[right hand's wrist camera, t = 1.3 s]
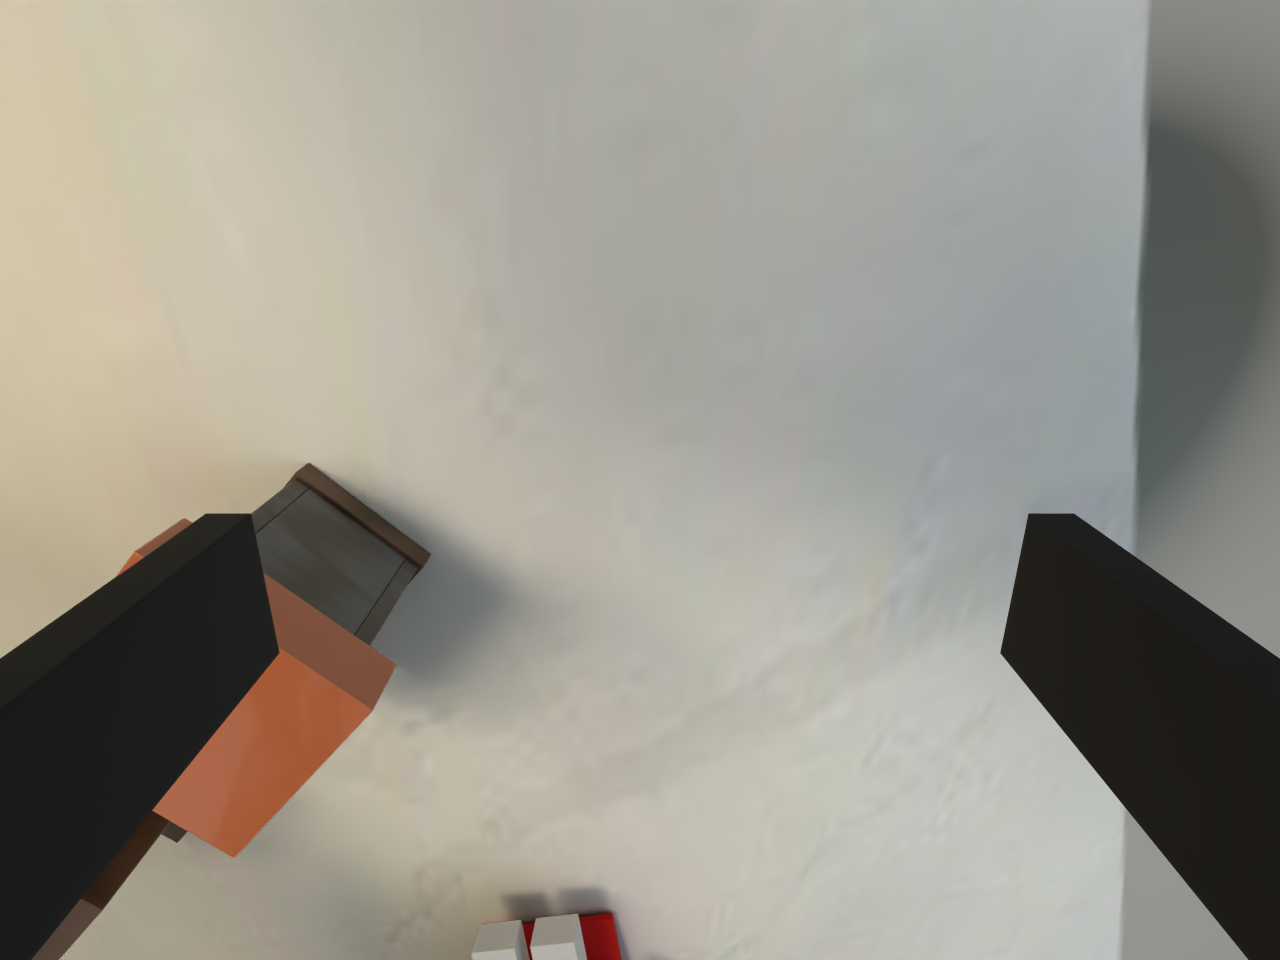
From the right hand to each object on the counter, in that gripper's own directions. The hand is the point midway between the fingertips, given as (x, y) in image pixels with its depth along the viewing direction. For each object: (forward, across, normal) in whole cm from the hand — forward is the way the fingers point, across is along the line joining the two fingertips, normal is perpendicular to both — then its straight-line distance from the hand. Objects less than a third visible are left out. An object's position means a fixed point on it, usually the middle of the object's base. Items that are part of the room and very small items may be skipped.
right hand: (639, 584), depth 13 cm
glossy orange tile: (+16, -17, -12) cm, 26 cm away
